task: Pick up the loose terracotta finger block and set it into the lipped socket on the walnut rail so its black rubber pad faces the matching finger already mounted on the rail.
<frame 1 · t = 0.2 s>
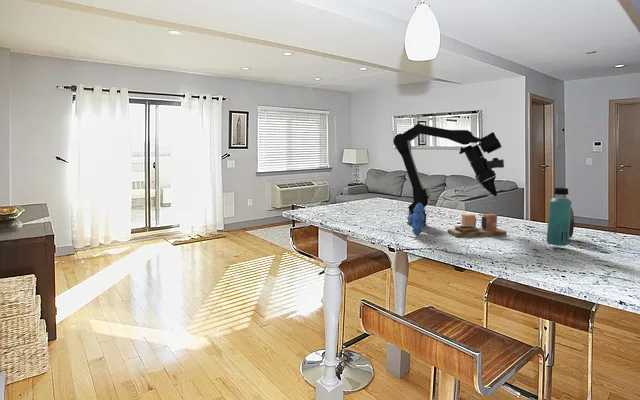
hand: (494, 194, 163), 14 cm above the table, tool tilted 30°, fingers open, 9 cm apart
rail: (476, 234, 157), on the table
alarm clock: (561, 240, 149), on the table
finger: (467, 229, 166), on the table
grapes: (415, 234, 158), on the table
beverage bottle: (556, 248, 137), on the table
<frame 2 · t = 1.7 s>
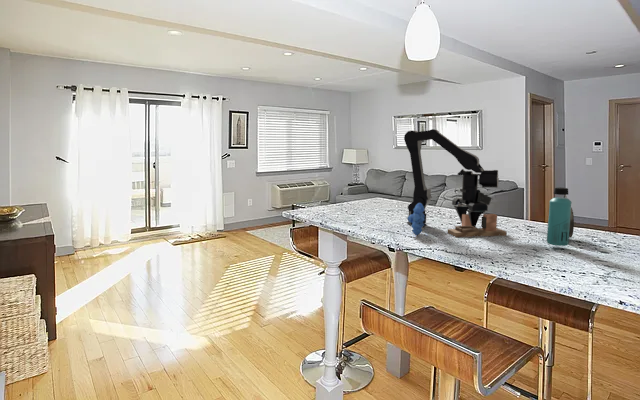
hand: (468, 225, 166), 2 cm above the table, tool pointing down, fingers open, 8 cm apart
nothing on the table moved.
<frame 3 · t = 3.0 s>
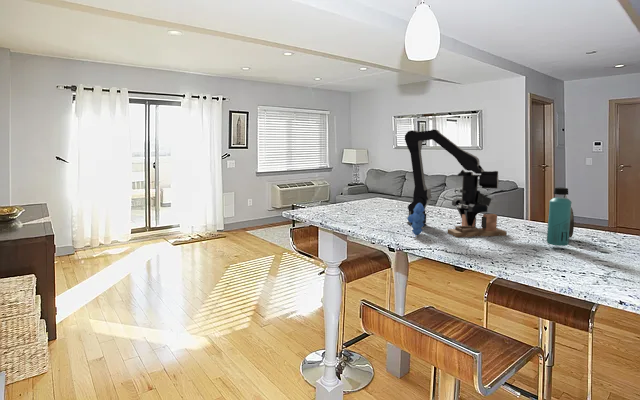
hand: (467, 226, 166), 1 cm above the table, tool pointing down, fingers closed on finger, 3 cm apart
finger: (467, 229, 166), on the table, touching gripper
everything else where it was.
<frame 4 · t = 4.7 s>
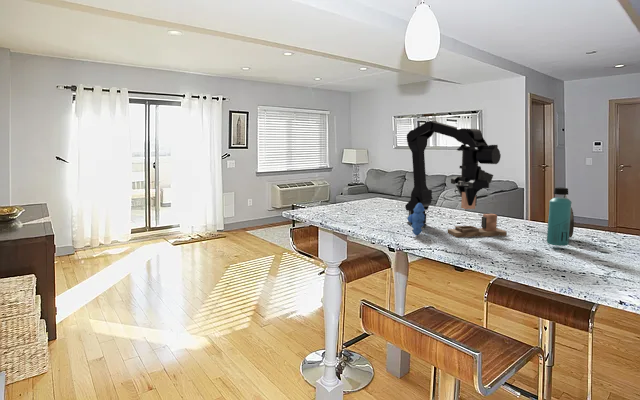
hand: (468, 204, 155), 11 cm above the table, tool pointing down, fingers closed on finger, 3 cm apart
finger: (468, 208, 156), point 10 cm above the table, touching gripper
everything else where it was.
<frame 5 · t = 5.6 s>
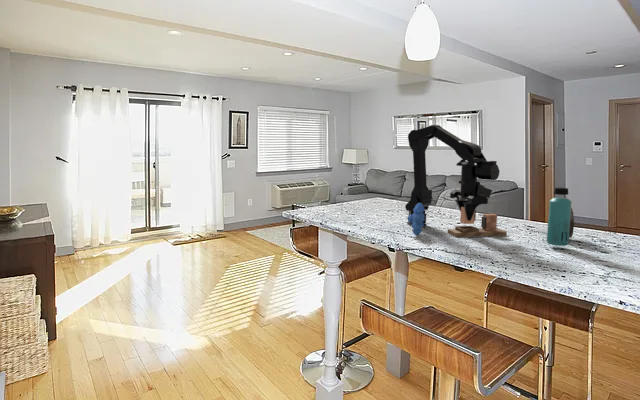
hand: (467, 219, 156), 6 cm above the table, tool pointing down, fingers closed on finger, 3 cm apart
finger: (467, 222, 156), point 4 cm above the table, touching gripper
everything else where it was.
when the fingers open (4 cm above the table, at t = 6.5 s): finger drops 2 cm, resting on rail.
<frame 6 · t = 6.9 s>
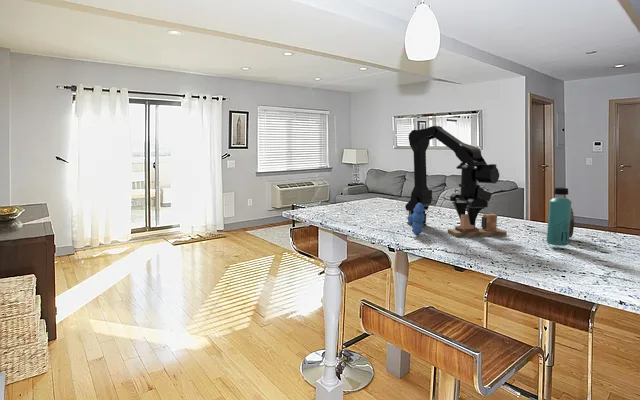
hand: (467, 222, 156), 4 cm above the table, tool pointing down, fingers open, 8 cm apart
finger: (466, 230, 157), point 1 cm above the table, touching rail
everything else where it was.
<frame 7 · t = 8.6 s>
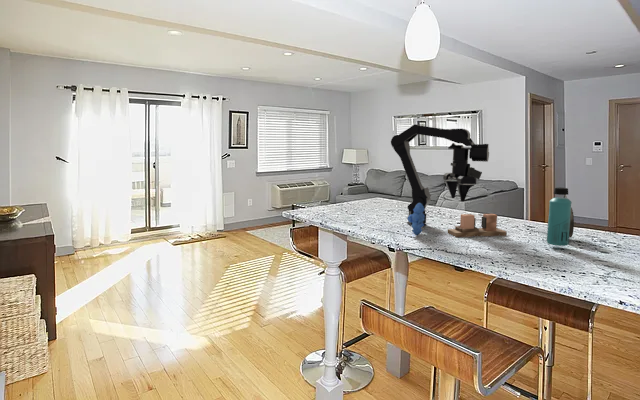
hand: (457, 199, 167), 12 cm above the table, tool pointing down, fingers open, 9 cm apart
nothing on the table moved.
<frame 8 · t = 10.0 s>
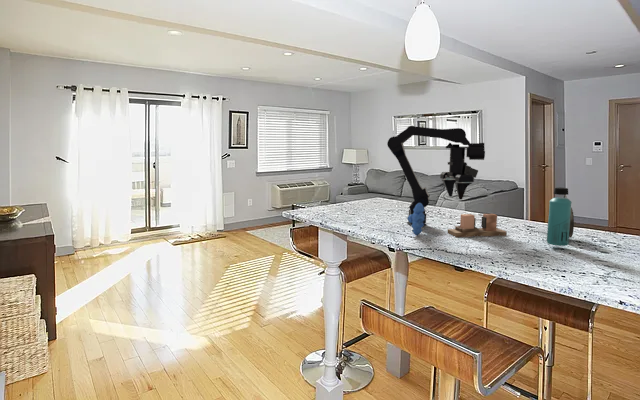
hand: (455, 197, 170), 12 cm above the table, tool pointing down, fingers open, 9 cm apart
nothing on the table moved.
at the end: finger 0.0 cm from the target spot on the rail, point 1.5 cm above the rail's base; finger tilted 0°; the gripper is holding nothing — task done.
